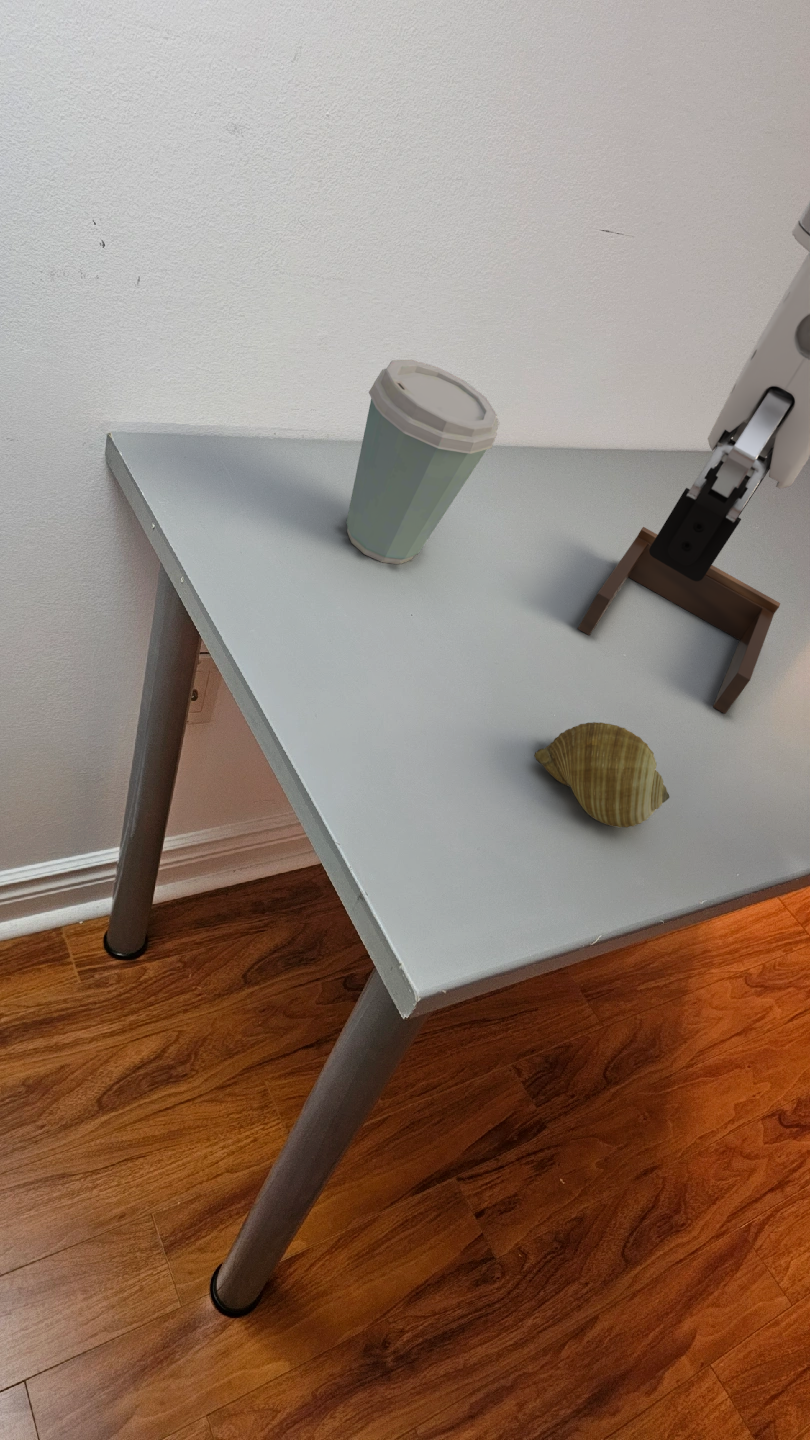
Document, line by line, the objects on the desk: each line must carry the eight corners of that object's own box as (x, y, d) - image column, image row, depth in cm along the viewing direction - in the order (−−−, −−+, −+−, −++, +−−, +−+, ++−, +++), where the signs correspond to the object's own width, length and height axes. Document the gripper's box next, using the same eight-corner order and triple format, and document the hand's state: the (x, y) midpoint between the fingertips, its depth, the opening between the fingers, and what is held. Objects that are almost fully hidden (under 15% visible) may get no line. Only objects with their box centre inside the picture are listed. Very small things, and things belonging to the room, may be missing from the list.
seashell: (519, 804, 79) (518, 782, 71) (553, 719, 80) (555, 687, 73) (645, 852, 77) (658, 834, 69) (677, 763, 78) (693, 736, 71)
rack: (753, 641, 100) (781, 602, 97) (725, 714, 89) (755, 672, 86) (620, 566, 102) (643, 525, 99) (577, 628, 91) (602, 585, 88)
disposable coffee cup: (401, 504, 96) (460, 353, 87) (464, 578, 91) (534, 426, 82) (301, 509, 90) (353, 347, 81) (363, 589, 85) (427, 425, 75)
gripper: (946, 310, 42) (721, 632, 53) (961, 249, 55) (778, 517, 66) (779, 222, 43) (591, 556, 54) (832, 183, 56) (673, 458, 67)
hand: (694, 534), depth 60 cm, fingers open, 9 cm apart
